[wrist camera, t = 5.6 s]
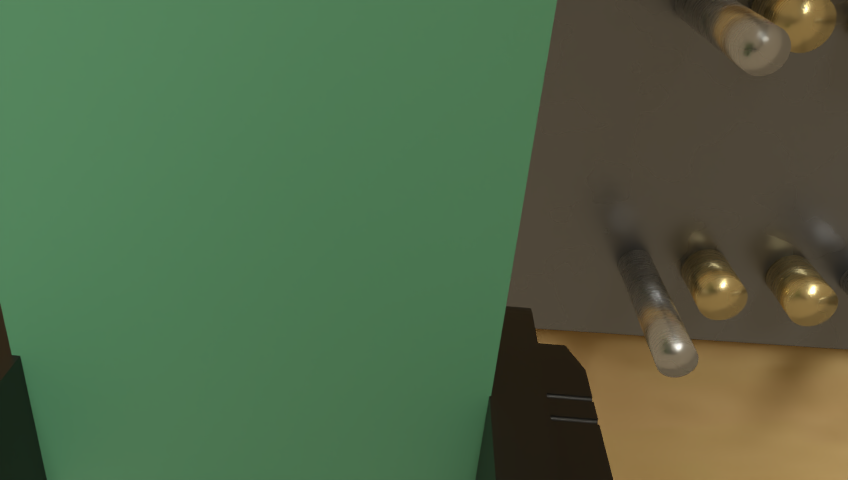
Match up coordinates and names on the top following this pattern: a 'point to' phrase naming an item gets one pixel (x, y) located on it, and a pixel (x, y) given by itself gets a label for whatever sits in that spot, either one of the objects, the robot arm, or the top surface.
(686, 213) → the chassis
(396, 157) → the board
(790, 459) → the top surface
